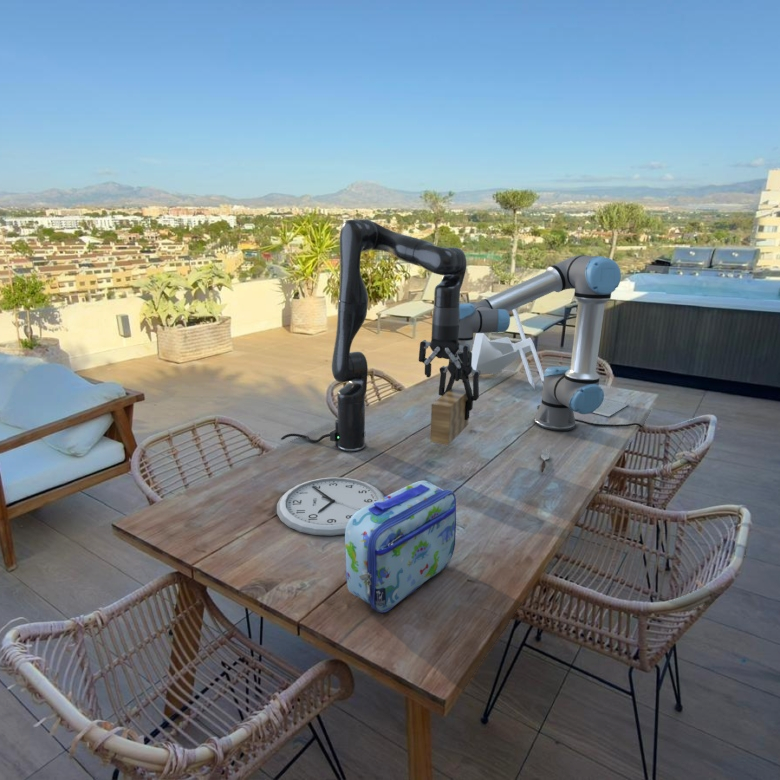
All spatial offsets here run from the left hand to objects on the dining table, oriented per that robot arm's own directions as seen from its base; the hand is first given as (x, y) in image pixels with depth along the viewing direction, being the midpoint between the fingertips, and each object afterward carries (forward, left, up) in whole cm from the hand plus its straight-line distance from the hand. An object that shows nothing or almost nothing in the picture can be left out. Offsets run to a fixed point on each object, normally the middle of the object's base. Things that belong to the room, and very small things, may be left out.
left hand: (442, 378), depth 149 cm
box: (-5, +18, -24) cm, 31 cm away
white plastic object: (-19, +110, -32) cm, 116 cm away
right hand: (-5, +25, -21) cm, 33 cm away
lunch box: (+15, -48, -32) cm, 60 cm away
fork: (+25, +28, -32) cm, 49 cm away
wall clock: (-18, -30, -32) cm, 47 cm away
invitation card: (+30, +100, -32) cm, 109 cm away
